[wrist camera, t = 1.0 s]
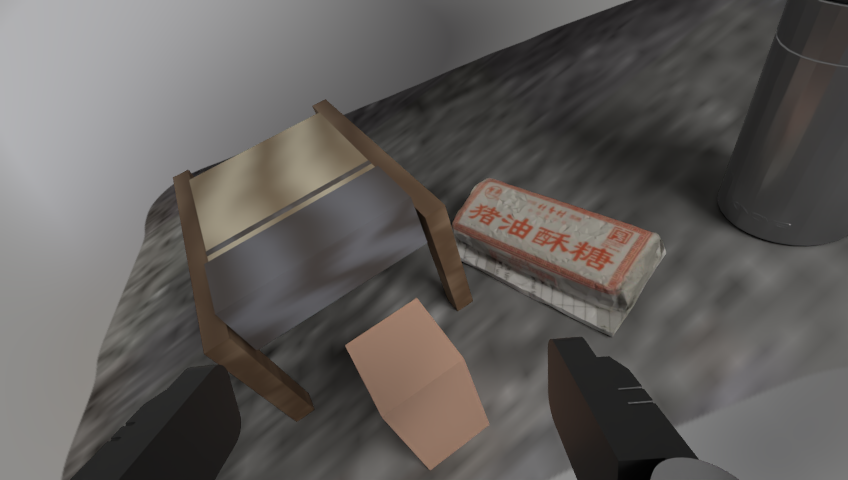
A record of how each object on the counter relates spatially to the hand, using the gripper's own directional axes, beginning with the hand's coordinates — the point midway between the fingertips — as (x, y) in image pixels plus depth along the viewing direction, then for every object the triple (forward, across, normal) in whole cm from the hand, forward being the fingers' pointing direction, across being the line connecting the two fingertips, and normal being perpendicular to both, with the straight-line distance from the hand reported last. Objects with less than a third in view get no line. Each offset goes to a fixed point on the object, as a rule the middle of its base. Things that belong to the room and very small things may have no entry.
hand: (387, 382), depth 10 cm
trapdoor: (+24, +10, +2) cm, 26 cm away
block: (+15, 0, +15) cm, 21 cm away
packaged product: (+27, -11, +7) cm, 30 cm away
